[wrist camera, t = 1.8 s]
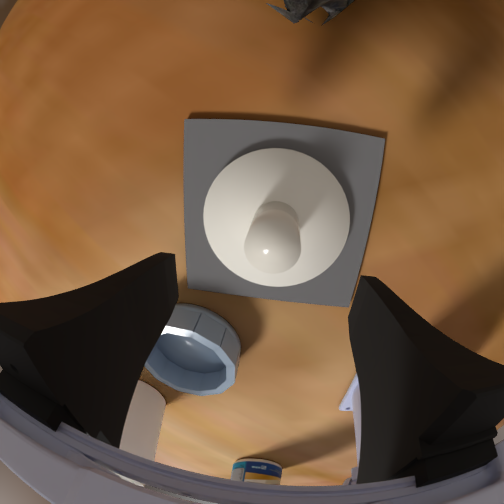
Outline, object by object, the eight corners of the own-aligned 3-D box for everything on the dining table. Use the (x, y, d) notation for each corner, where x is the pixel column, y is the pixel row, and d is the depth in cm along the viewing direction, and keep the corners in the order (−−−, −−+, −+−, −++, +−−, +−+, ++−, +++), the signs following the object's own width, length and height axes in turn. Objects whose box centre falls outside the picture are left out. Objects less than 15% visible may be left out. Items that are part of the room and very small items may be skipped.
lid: (358, 157, 15) (378, 169, 11) (334, 287, 19) (341, 326, 15) (206, 143, 16) (182, 151, 12) (207, 274, 20) (189, 309, 16)
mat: (383, 138, 14) (385, 138, 14) (347, 304, 20) (348, 307, 20) (186, 119, 16) (184, 119, 15) (189, 285, 21) (187, 288, 21)
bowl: (243, 311, 21) (236, 338, 19) (239, 377, 25) (234, 402, 23) (144, 295, 22) (128, 317, 20) (158, 361, 26) (147, 382, 23)
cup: (98, 366, 29) (54, 438, 18) (156, 372, 27) (113, 464, 16) (131, 408, 33) (101, 474, 22) (186, 416, 31) (160, 494, 20)
